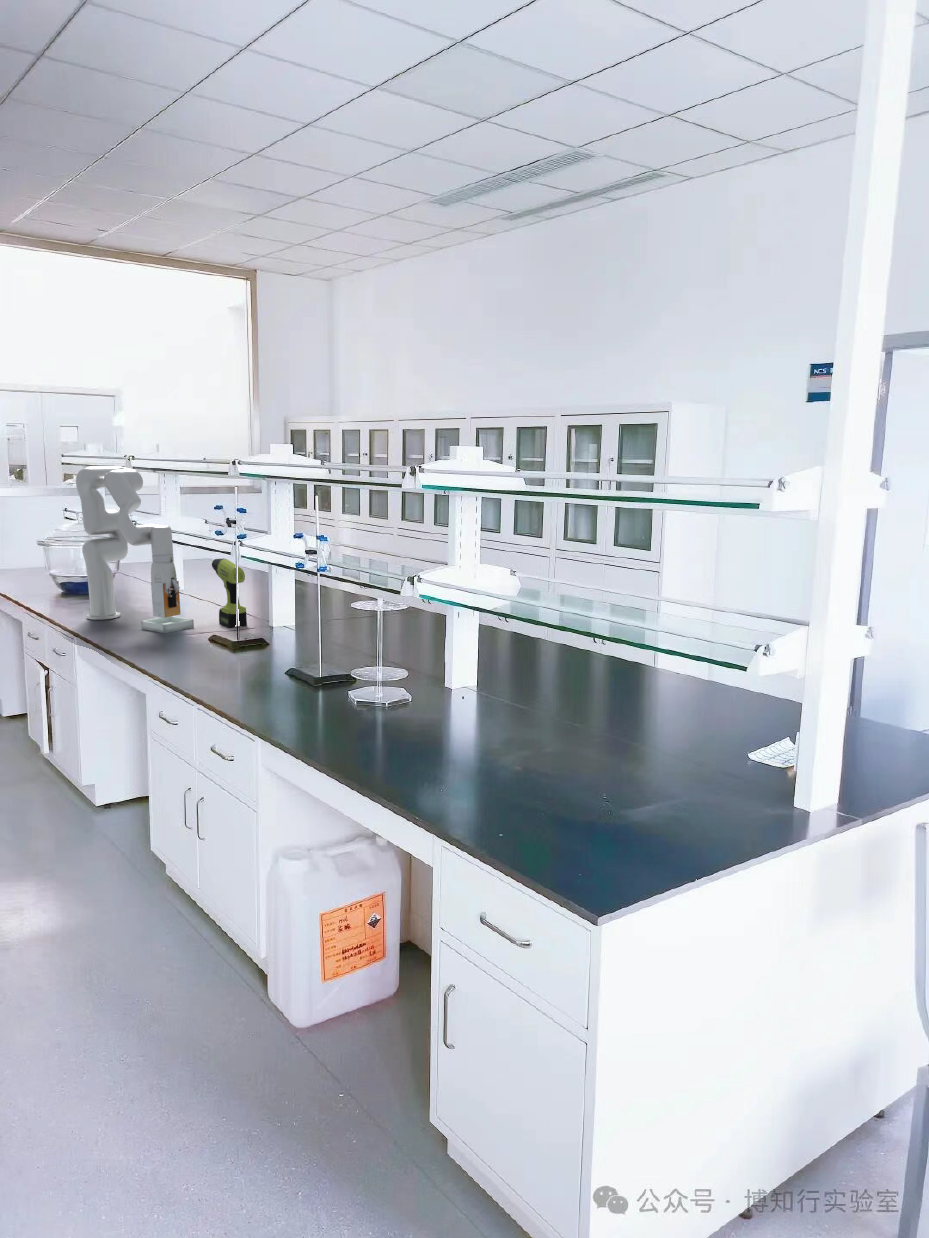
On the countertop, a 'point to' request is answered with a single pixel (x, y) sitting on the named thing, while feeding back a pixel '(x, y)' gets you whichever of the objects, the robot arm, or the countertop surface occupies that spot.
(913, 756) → the countertop surface
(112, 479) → the robot arm
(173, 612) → the small box
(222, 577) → the cordless drill
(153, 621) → the tray
